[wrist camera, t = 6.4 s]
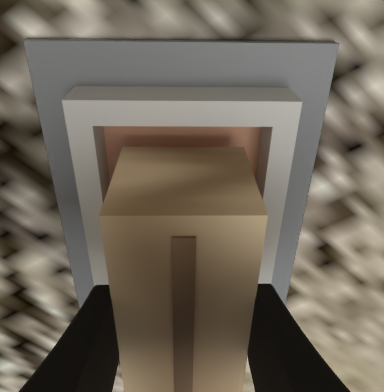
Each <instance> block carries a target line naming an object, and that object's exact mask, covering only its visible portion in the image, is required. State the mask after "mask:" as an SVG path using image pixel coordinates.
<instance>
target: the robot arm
mask: <svg viewBox="0 0 384 392" xmlns="http://www.w3.org/2000/svg"><path fill="white" fill-rule="evenodd" d="M247 353H248V361H249V366H250V370H251V375H252V379H253V383H254V388H255V392H350V391H349V389H348V388H347V387H346V386H345V385H344V384H343V383H342V381H341V380H340V379H339V378H338V377H337V375H336V374H335V373H334V372H333V371H332V369H331V368H330V367H329V366H328V364H327V363H326V362H325V361H324V359H323V358H322V357H321V356H320V354H319V353H318V352H317V350H316V349H315V348H314V346H313V345H312V344H311V342H310V341H309V340H308V338H307V337H306V335H305V334H304V333H303V331H302V330H301V329H300V327H299V326H298V324H297V323H296V321H295V320H294V318H293V317H292V315H291V314H290V312H289V311H288V309H287V308H286V306H285V305H284V303H283V301H282V300H281V298H280V297H279V295H278V293H277V292H276V290H275V288H274V286H273V285H271V284H270V283H269V284H258V287H257V294H256V297H255V303H254V310H253V317H252V324H251V331H250V338H249V345H248V351H247ZM118 361H119V348H118V341H117V334H116V327H115V320H114V313H113V306H112V299H111V295H110V288H109V285H95V286H94V287H93V288H92V290H91V291H90V293H89V295H88V297H87V298H86V300H85V302H84V303H83V305H82V307H81V308H80V310H79V311H78V313H77V314H76V316H75V317H74V319H73V320H72V322H71V324H70V325H69V326H68V328H67V329H66V331H65V332H64V334H63V335H62V336H61V338H60V339H59V341H58V342H57V344H56V345H55V346H54V348H53V349H52V350H51V352H50V353H49V354H48V356H47V357H46V358H45V359H44V361H43V362H42V363H41V365H40V366H39V367H38V369H37V370H36V371H35V372H34V374H33V375H32V376H31V377H30V379H29V380H28V381H27V382H26V383H25V385H24V386H23V387H22V388H21V389H20V391H19V392H112V389H113V385H114V380H115V376H116V371H117V366H118Z"/></svg>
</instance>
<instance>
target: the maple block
mask: <svg viewBox="0 0 384 392" xmlns="http://www.w3.org/2000/svg"><path fill="white" fill-rule="evenodd" d="M99 219H100V226H101V233H102V240H103V247H104V254H105V261H106V268H107V274H108V281H109V288H110V295H111V299H112V306H113V313H114V320H115V327H116V334H117V341H118V348H119V358H120V365H121V372H122V379H123V386H124V392H242V389H243V382H244V375H245V369H246V362H247V355H248V353H247V351H248V345H249V338H250V331H251V324H252V317H253V310H254V303H255V297H256V294H257V287H258V280H259V273H260V267H261V260H262V253H263V246H264V239H265V233H266V226H267V219H268V214H267V211H266V208H265V206H264V203H263V200H262V197H261V194H260V191H259V189H258V186H257V183H256V180H255V177H254V174H253V171H252V169H251V166H250V163H249V160H248V157H247V154H246V152H245V149H244V147H122V150H121V153H120V156H119V159H118V162H117V164H116V167H115V170H114V173H113V176H112V179H111V182H110V185H109V188H108V191H107V194H106V197H105V200H104V203H103V206H102V209H101V212H100V215H99Z"/></svg>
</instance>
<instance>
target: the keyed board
mask: <svg viewBox="0 0 384 392" xmlns="http://www.w3.org/2000/svg"><path fill="white" fill-rule="evenodd" d="M23 42H24V47H25V51H26V56H27V61H28V66H29V70H30V75H31V80H32V85H33V89H34V94H35V99H36V104H37V108H38V113H39V118H40V123H41V127H42V132H43V137H44V142H45V146H46V151H47V156H48V161H49V165H50V170H51V175H52V180H53V184H54V189H55V194H56V199H57V203H58V208H59V213H60V218H61V223H62V227H63V232H64V237H65V242H66V246H67V251H68V256H69V261H70V265H71V270H72V275H73V280H74V284H75V289H76V294H77V299H78V303H79V308H81V307H82V305H83V303H84V302H85V300H86V298H87V297H88V295H89V293H90V291H91V290H92V288H93V287H94V286H95V285H109V281H108V274H107V268H106V261H105V254H104V247H103V240H102V233H101V226H100V219H99V215H100V212H101V209H102V206H103V203H104V200H105V197H106V194H107V191H108V188H109V185H110V182H111V179H112V176H113V173H114V170H115V167H116V164H117V162H118V159H119V156H120V153H121V150H122V147H244V149H245V152H246V154H247V157H248V160H249V163H250V166H251V169H252V171H253V174H254V177H255V180H256V183H257V186H258V189H259V191H260V194H261V197H262V200H263V203H264V206H265V208H266V211H267V214H268V219H267V226H266V233H265V239H264V246H263V253H262V260H261V267H260V273H259V280H258V284H269V283H270V284H271V285H273V286H274V288H275V290H276V292H277V293H278V295H279V297H280V298H281V300H282V301H283V303H284V305H285V302H286V297H287V293H288V288H289V283H290V278H291V273H292V269H293V264H294V259H295V254H296V249H297V245H298V240H299V235H300V230H301V225H302V220H303V216H304V211H305V206H306V201H307V196H308V192H309V187H310V182H311V177H312V172H313V168H314V163H315V158H316V153H317V148H318V143H319V139H320V134H321V129H322V124H323V119H324V115H325V110H326V105H327V100H328V95H329V91H330V86H331V81H332V76H333V71H334V67H335V62H336V57H337V52H338V47H339V43H337V42H320V41H226V40H133V39H39V38H27V39H25V40H23Z"/></svg>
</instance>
